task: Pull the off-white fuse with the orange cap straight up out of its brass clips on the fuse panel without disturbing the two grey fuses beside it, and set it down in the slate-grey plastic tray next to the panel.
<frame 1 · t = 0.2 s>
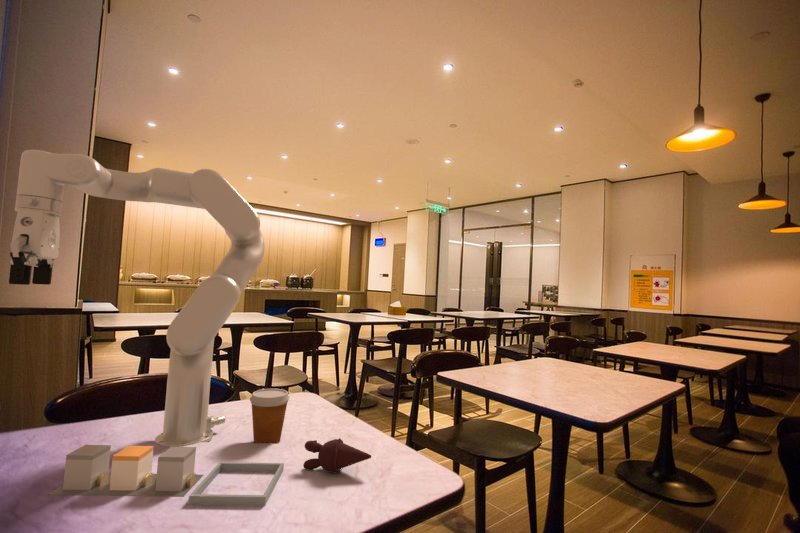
hand: (31, 284, 84), 37 cm above the table, tool pointing down, fingers open, 9 cm apart
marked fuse: (130, 483, 71), point 1 cm above the table, touching fuse panel
fuse panel: (130, 489, 71), on the table
fuse 1: (86, 483, 71), point 1 cm above the table, touching fuse panel
tray: (239, 491, 72), on the table
icecream: (335, 472, 82), on the table
disposable coffee cup: (267, 442, 96), on the table
fuse 2: (175, 484, 72), point 1 cm above the table, touching fuse panel
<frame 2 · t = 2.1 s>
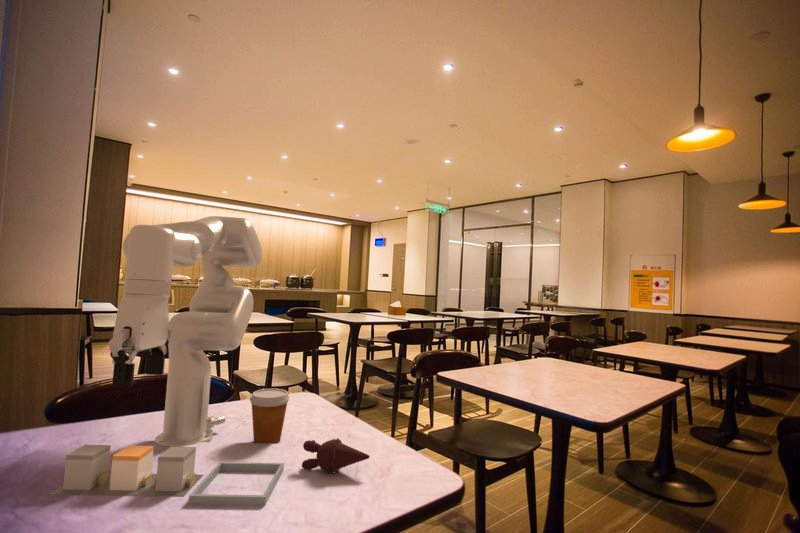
hand: (139, 379, 72), 20 cm above the table, tool pointing down, fingers open, 9 cm apart
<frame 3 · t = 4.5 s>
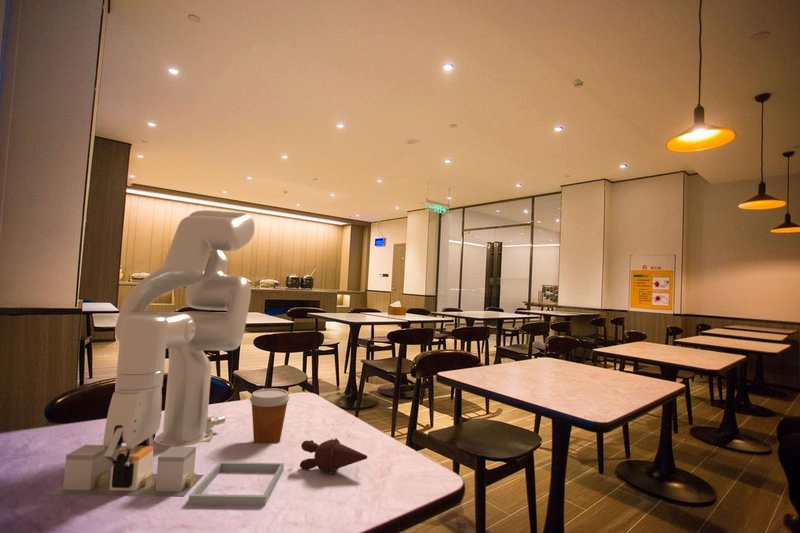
hand: (131, 478, 71), 2 cm above the table, tool pointing down, fingers closed on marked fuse, 4 cm apart
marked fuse: (130, 483, 71), point 1 cm above the table, touching fuse panel, gripper
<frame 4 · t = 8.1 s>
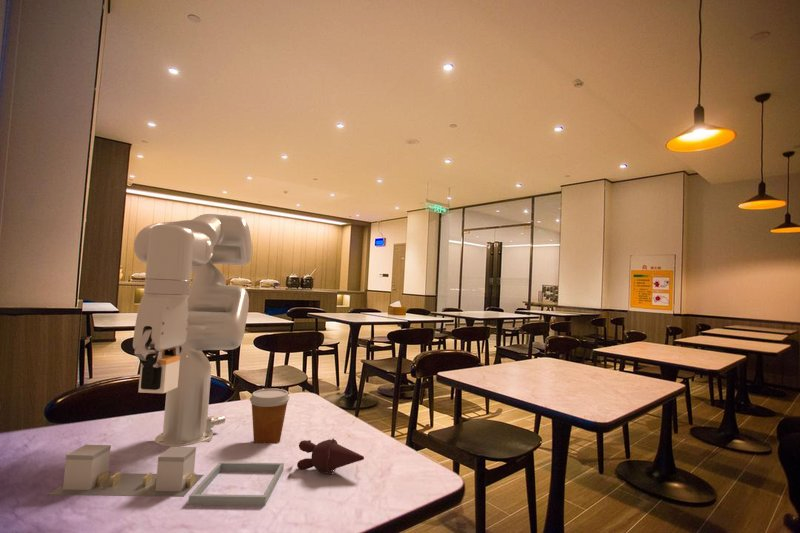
hand: (159, 384, 72), 19 cm above the table, tool pointing down, fingers closed on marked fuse, 4 cm apart
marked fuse: (158, 389, 72), point 18 cm above the table, touching gripper
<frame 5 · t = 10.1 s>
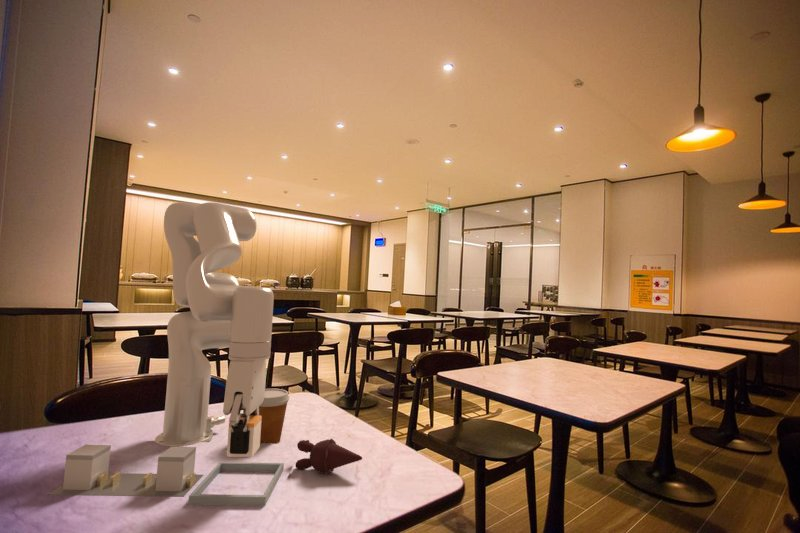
hand: (244, 446, 72), 8 cm above the table, tool pointing down, fingers closed on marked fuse, 4 cm apart
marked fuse: (243, 451, 72), point 7 cm above the table, touching gripper
when the fingers open (2 cm above the table, at t = 11.8 s): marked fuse stays where it is, resting on tray.
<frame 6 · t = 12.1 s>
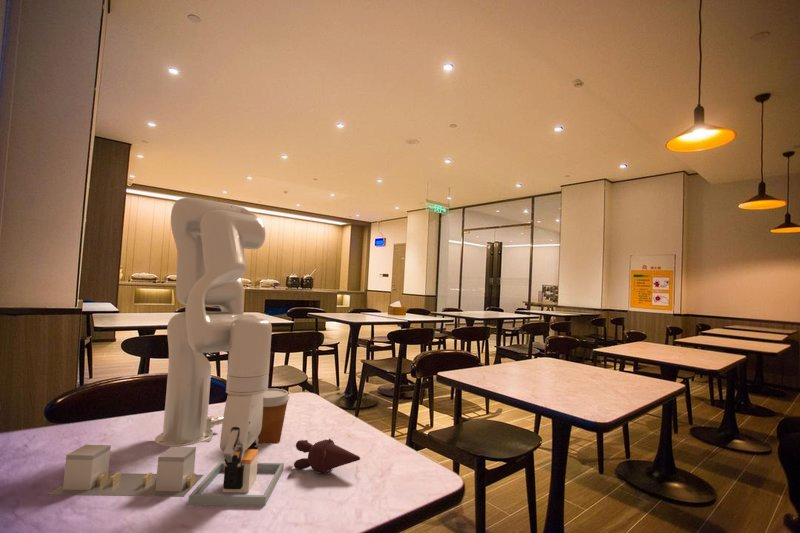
hand: (241, 476, 72), 3 cm above the table, tool pointing down, fingers open, 7 cm apart
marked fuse: (240, 486, 72), point 1 cm above the table, touching tray
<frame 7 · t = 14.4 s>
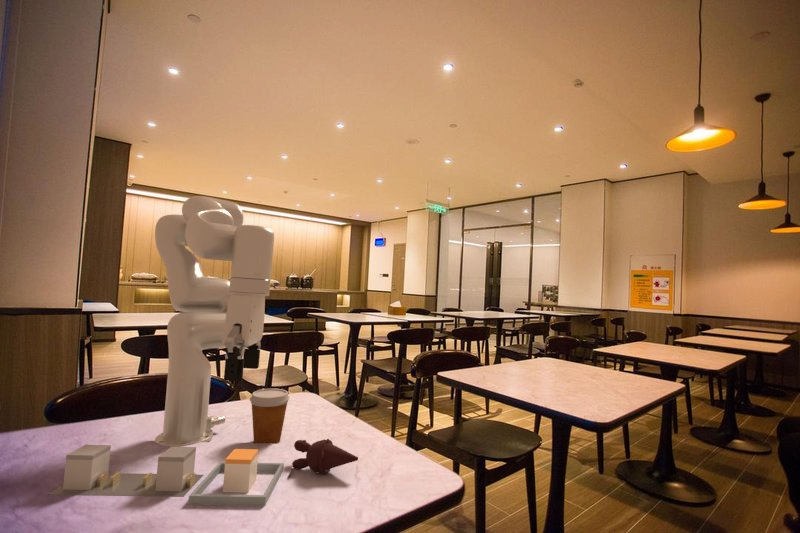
hand: (242, 373, 75), 21 cm above the table, tool pointing down, fingers open, 9 cm apart
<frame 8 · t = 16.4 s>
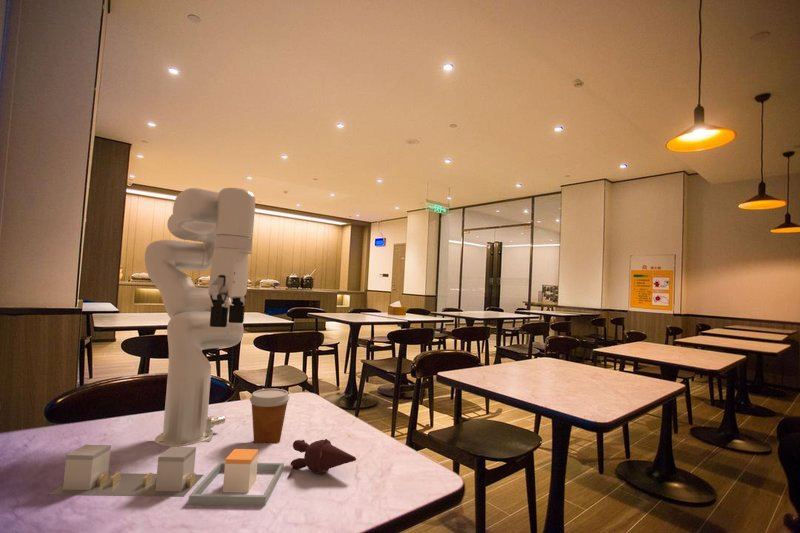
hand: (227, 324, 82), 30 cm above the table, tool pointing down, fingers open, 9 cm apart
at the end: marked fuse inside the target area on the tray (0.0 cm from its centre), point 0.8 cm above the tray's base; fuse 2 moved 0.0 cm from its start; fuse 1 moved 0.0 cm from its start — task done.
